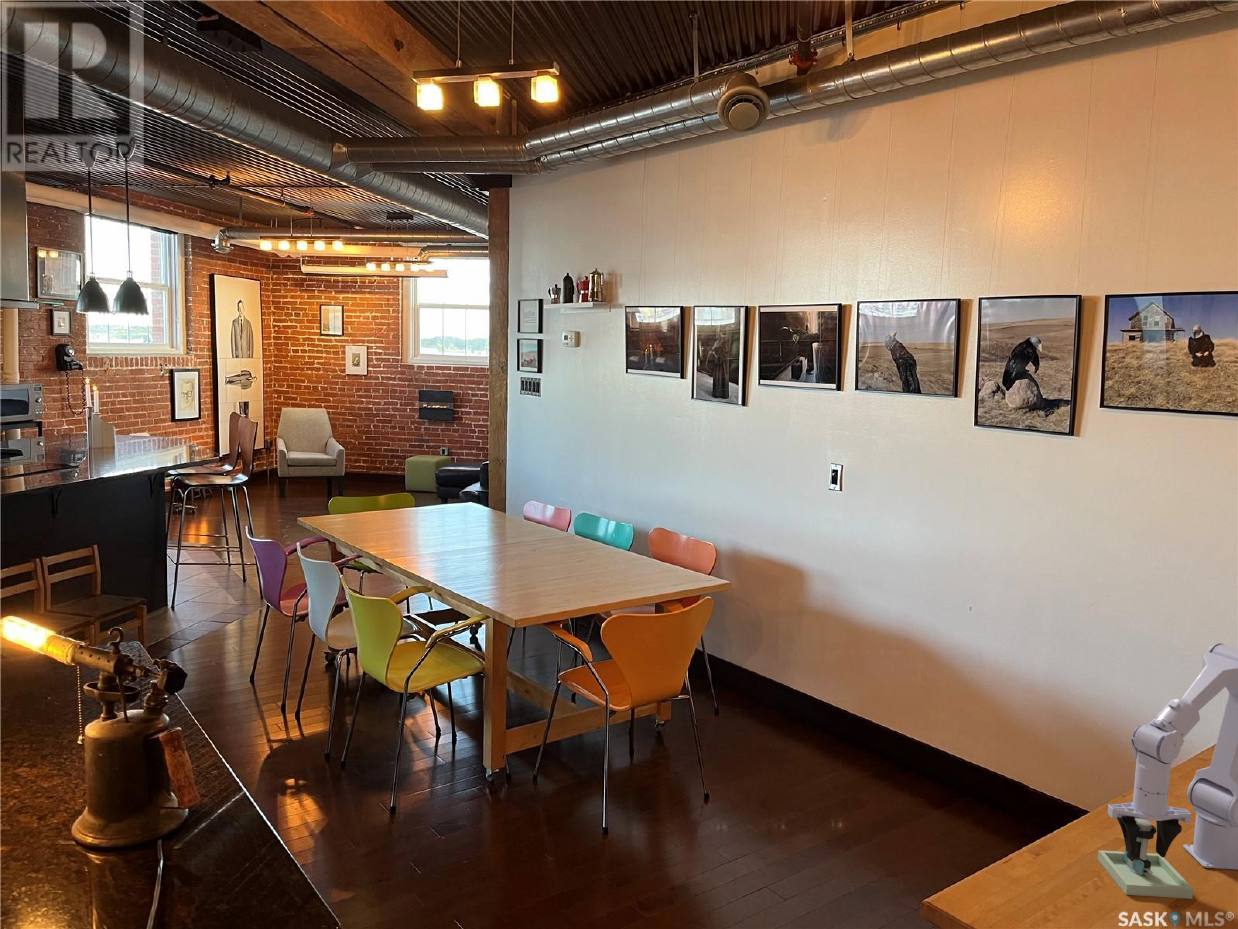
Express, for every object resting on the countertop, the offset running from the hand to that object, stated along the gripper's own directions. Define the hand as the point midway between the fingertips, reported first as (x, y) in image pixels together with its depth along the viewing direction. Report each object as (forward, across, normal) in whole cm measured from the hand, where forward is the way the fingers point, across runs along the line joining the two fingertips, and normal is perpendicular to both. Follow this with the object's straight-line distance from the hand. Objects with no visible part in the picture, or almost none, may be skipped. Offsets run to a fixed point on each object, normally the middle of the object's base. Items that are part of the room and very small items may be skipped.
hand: (1145, 853), depth 173 cm
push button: (+5, 0, -2) cm, 5 cm away
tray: (+5, 0, 0) cm, 5 cm away
